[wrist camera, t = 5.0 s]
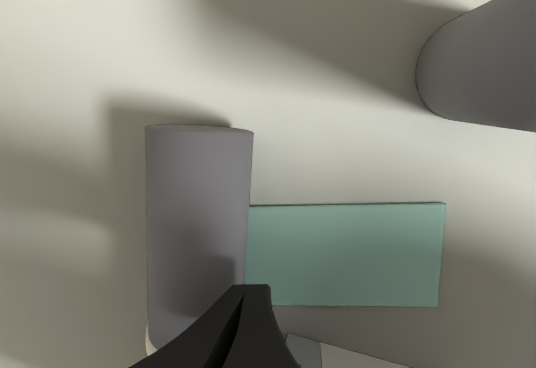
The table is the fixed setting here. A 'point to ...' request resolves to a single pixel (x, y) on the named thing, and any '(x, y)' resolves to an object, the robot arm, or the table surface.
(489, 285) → the table surface
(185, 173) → the post left
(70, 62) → the table surface
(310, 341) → the circuit breaker
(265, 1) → the table surface
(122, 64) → the table surface
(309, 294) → the pad
